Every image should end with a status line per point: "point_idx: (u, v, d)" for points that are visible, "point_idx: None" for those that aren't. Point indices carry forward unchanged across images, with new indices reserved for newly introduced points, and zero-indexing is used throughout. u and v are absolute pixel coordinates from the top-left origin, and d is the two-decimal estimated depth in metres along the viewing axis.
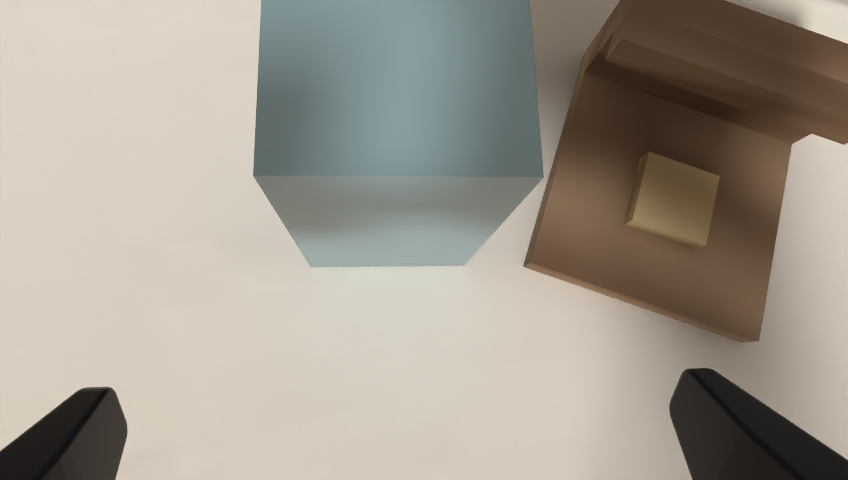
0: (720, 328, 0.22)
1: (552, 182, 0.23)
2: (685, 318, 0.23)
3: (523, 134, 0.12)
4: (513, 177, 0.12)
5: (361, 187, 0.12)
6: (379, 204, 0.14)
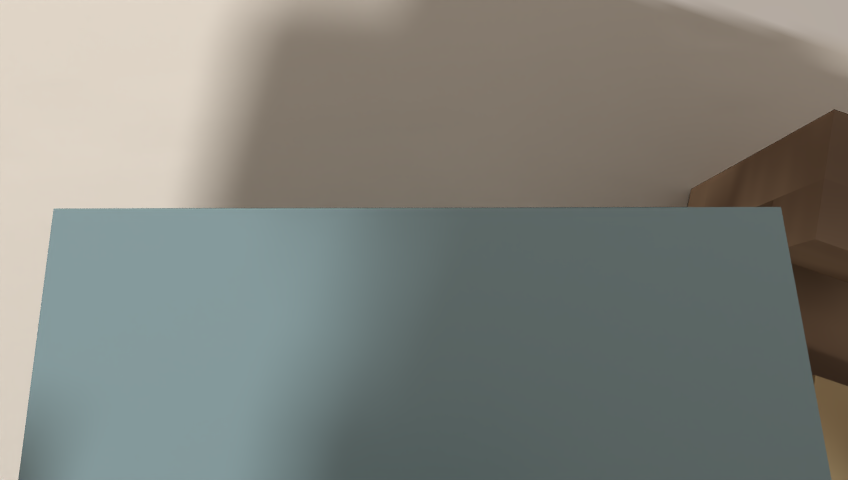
0: None
1: None
2: None
3: None
4: None
5: None
6: None
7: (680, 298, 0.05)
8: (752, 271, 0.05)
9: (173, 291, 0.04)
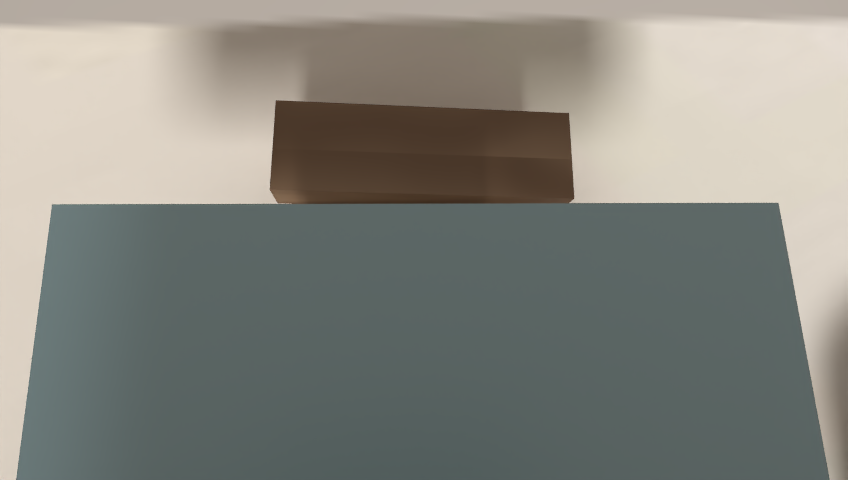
0: None
1: None
2: None
3: None
4: None
5: None
6: None
7: (678, 294, 0.05)
8: (749, 267, 0.05)
9: (171, 286, 0.04)
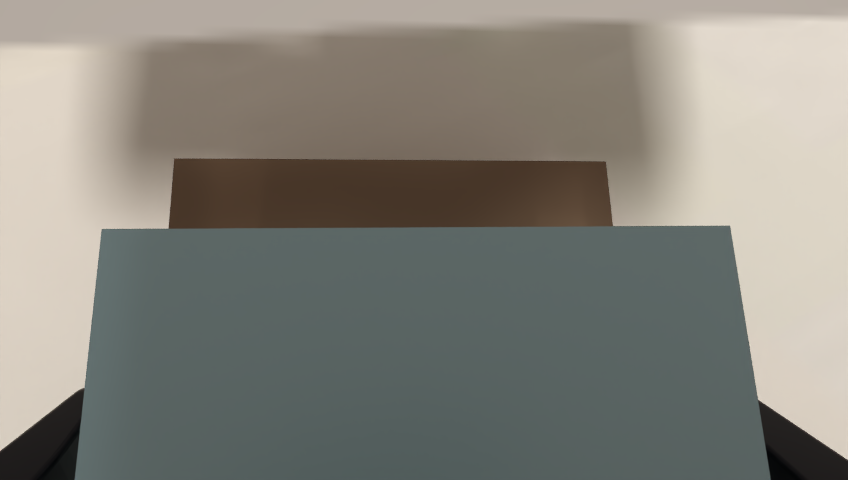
0: None
1: None
2: None
3: None
4: None
5: None
6: None
7: (640, 305, 0.05)
8: (703, 282, 0.06)
9: (204, 299, 0.05)
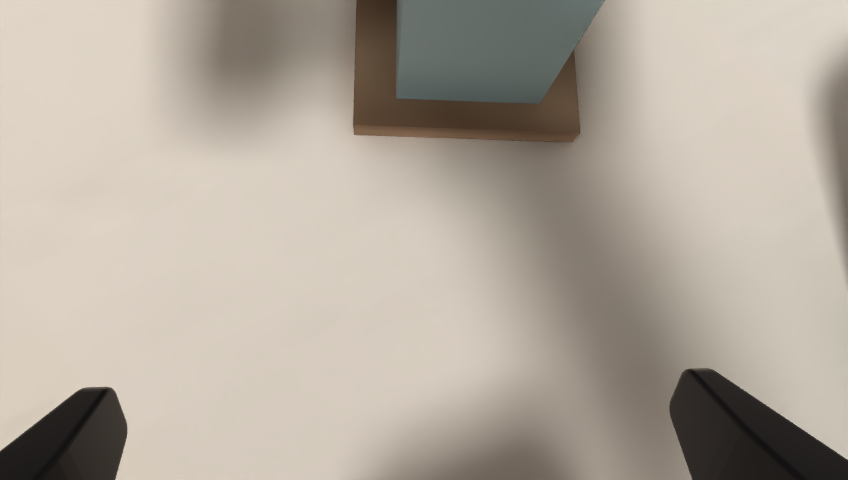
0: (543, 132, 0.24)
1: (355, 48, 0.24)
2: (512, 134, 0.24)
3: None
4: None
5: None
6: None
7: None
8: None
9: None
